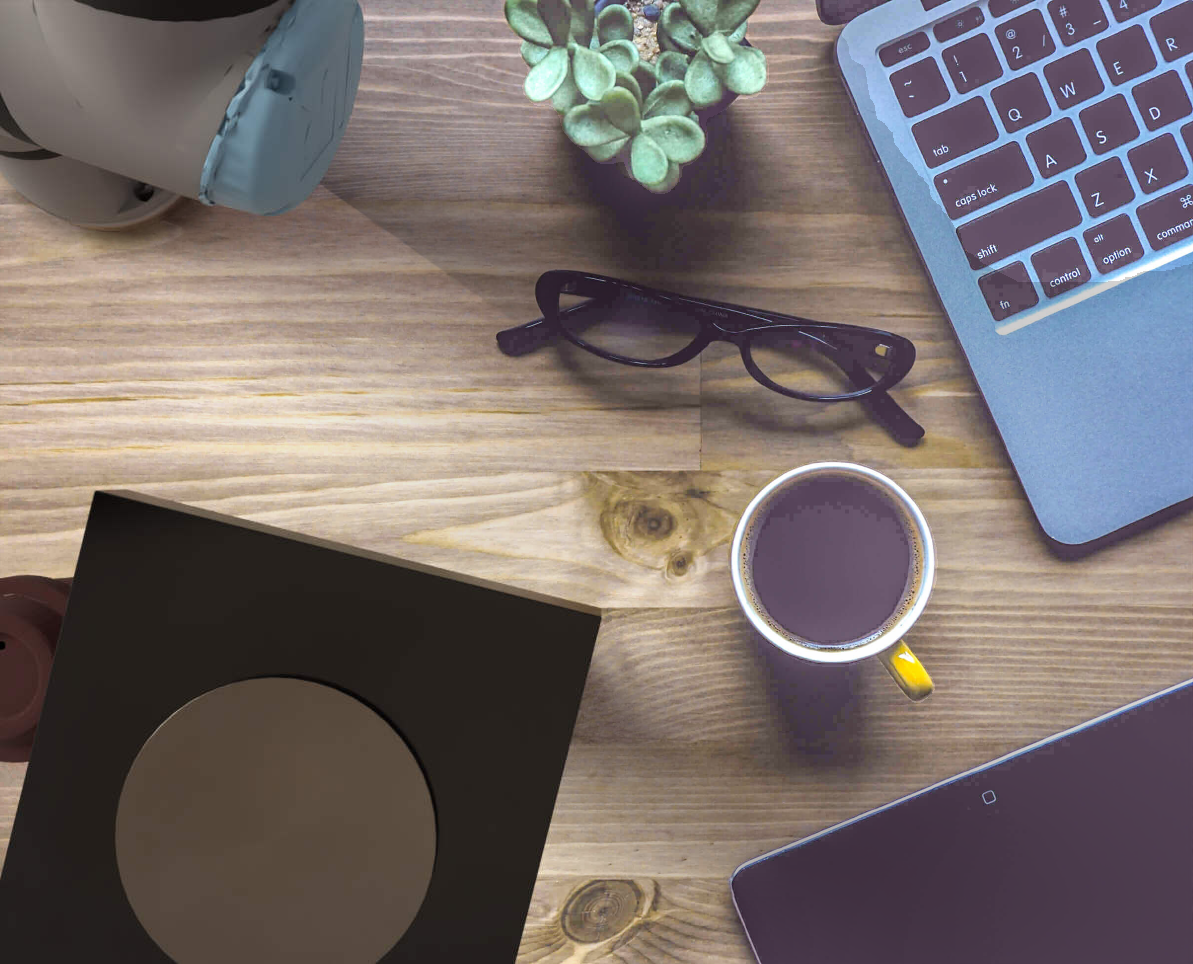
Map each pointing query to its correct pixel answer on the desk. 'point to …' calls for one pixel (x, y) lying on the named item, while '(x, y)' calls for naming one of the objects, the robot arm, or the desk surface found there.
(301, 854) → the stove
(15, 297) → the desk surface
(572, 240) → the desk surface
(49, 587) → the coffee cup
